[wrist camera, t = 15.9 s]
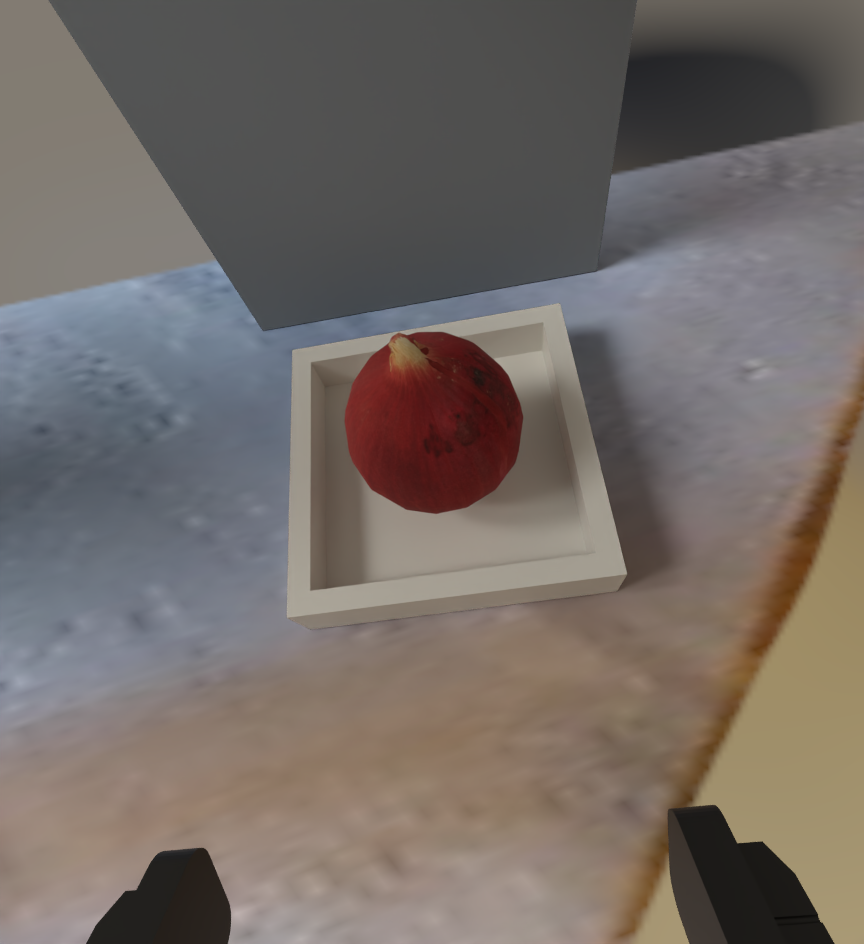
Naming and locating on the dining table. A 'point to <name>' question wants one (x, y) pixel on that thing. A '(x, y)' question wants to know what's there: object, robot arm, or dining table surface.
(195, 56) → the inverted l bracket
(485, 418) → the onion
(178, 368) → the dining table surface
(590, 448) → the tray
